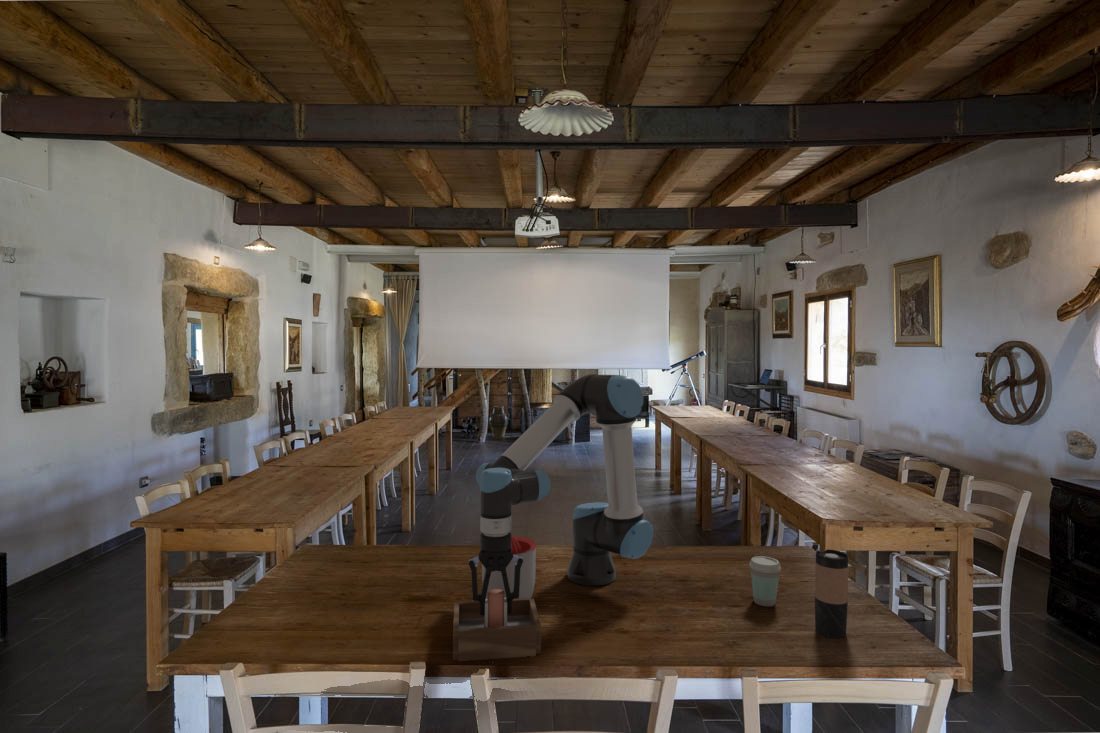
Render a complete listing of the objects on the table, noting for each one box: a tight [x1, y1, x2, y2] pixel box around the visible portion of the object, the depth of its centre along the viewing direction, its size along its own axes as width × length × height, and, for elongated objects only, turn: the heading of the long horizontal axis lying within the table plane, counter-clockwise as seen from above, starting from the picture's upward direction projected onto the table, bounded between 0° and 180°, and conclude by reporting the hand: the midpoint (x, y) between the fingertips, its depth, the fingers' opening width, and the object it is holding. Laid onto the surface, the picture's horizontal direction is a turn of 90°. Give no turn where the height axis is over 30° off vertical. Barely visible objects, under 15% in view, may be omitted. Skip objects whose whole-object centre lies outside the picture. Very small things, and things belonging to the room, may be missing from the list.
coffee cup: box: [748, 555, 782, 607], centre depth 171 cm, size 8×9×12 cm
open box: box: [452, 598, 542, 662], centre depth 148 cm, size 16×20×7 cm
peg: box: [488, 589, 504, 627], centre depth 147 cm, size 4×4×12 cm
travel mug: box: [814, 549, 849, 639], centre depth 153 cm, size 8×8×20 cm
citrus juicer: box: [481, 534, 537, 599], centre depth 170 cm, size 16×17×20 cm
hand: (495, 626), depth 148 cm, fingers closed on peg, 4 cm apart
